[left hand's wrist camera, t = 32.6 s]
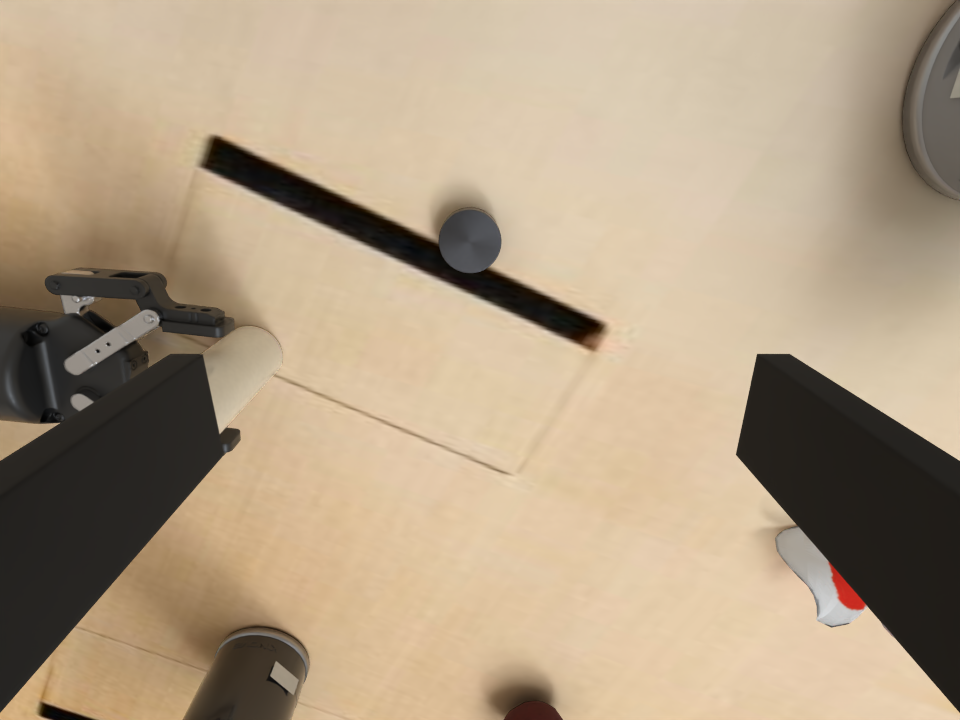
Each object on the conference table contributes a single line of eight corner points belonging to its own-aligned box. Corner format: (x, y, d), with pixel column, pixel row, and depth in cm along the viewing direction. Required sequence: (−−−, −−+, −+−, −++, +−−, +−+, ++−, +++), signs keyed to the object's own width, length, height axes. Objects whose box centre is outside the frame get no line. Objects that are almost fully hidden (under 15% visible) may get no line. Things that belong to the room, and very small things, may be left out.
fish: (881, 668, 48) (961, 725, 39) (732, 559, 52) (772, 586, 42) (945, 576, 49) (1040, 609, 39) (793, 473, 52) (847, 480, 43)
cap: (502, 265, 39) (503, 270, 37) (443, 270, 39) (442, 275, 37) (497, 204, 37) (498, 207, 35) (437, 210, 37) (435, 212, 36)
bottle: (262, 390, 42) (76, 594, 22) (212, 355, 41) (-30, 538, 21) (294, 351, 41) (128, 530, 21) (244, 313, 40) (19, 466, 20)
